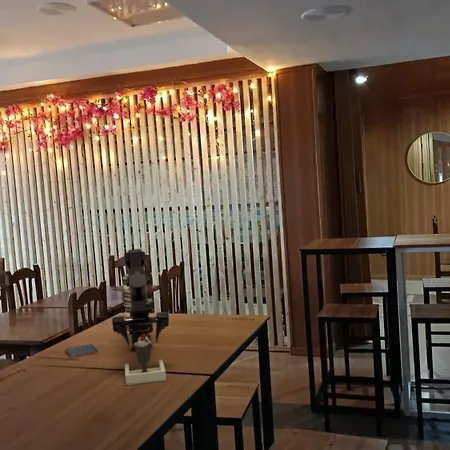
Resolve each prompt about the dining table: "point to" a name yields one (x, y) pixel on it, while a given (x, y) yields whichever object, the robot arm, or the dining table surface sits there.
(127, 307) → the decorative candle
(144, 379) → the end cap
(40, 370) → the dining table surface
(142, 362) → the sundae
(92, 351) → the woven mat
